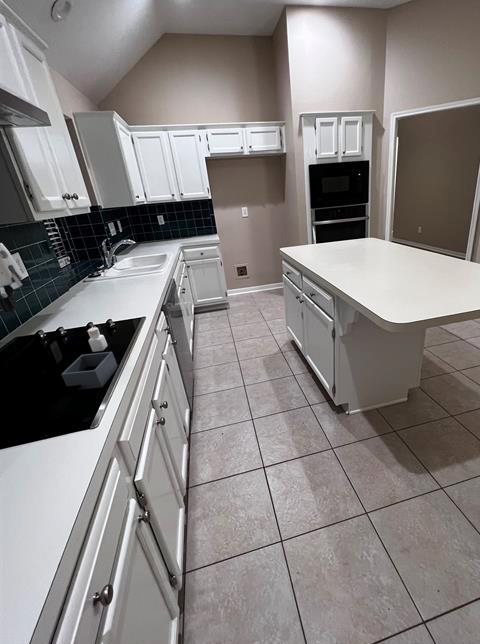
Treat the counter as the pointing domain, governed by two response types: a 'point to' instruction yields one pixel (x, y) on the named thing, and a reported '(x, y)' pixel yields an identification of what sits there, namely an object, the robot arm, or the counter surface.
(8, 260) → the robot arm
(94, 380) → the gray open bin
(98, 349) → the pepper shaker
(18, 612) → the counter surface
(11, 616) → the counter surface
